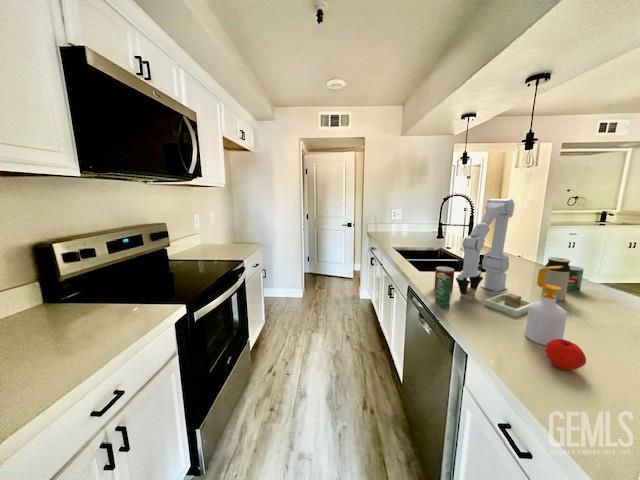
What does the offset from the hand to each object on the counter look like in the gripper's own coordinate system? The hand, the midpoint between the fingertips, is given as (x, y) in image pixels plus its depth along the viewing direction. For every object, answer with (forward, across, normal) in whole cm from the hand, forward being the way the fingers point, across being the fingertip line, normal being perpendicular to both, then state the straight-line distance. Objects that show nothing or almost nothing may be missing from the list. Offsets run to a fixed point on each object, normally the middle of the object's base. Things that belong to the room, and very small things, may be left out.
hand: (468, 292), depth 118 cm
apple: (+2, +25, +42) cm, 49 cm away
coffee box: (+2, +18, 0) cm, 18 cm away
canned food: (+2, +2, -11) cm, 11 cm away
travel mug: (+2, -33, +19) cm, 38 cm away
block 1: (+2, 0, 0) cm, 2 cm away
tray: (+2, -4, +15) cm, 16 cm away
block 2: (+2, -7, +15) cm, 16 cm away
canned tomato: (+2, -53, +18) cm, 56 cm away
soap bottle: (+2, +13, +33) cm, 36 cm away
